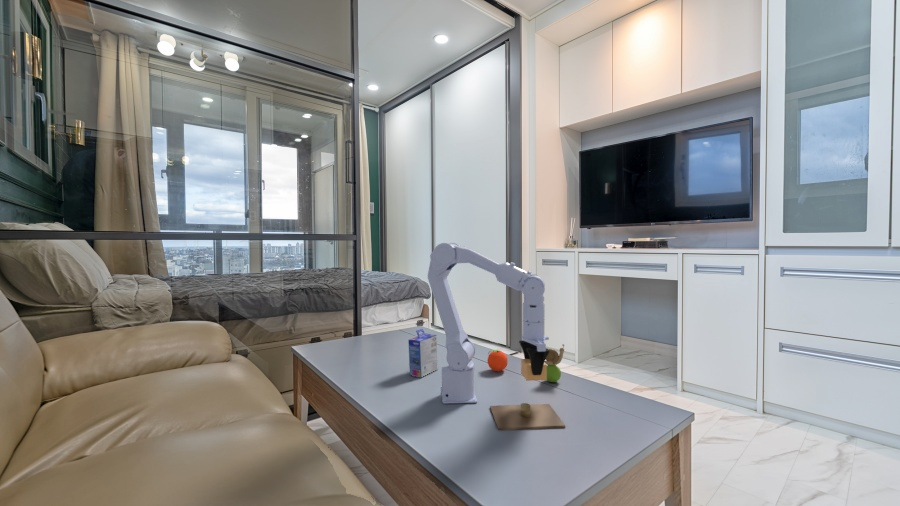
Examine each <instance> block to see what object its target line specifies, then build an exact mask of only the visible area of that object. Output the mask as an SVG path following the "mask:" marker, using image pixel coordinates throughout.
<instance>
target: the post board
mask: <svg viewBox="0 0 900 506" xmlns="http://www.w3.org/2000/svg"><path fill="white" fill-rule="evenodd" d="M489 407H490V408H489V409H490V410H491V414H492V416H493V420H494V422H495V424H496V427H497V430H498V431H509V430H533V429H534V430H536V429H562V428H566V423H564V422H563V421H562V419H561V418H560V417H559V415H558V414H557V412H556V411H555V410H554V408H553V407H552V406H551V404H550V403H538V404H529V403H528V402H527V403H526V402H525V403H524V402H523V403H520V404H512V405H511V404H510V405H509V404H507V405H506V404H505V405H502V404H501V405H490V406H489Z"/></svg>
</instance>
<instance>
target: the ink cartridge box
mask: <svg viewBox="0 0 900 506" xmlns="http://www.w3.org/2000/svg"><path fill="white" fill-rule="evenodd" d="M415 332H416V335H417V336H415V337H412V338H410V339H408V359H409V360H408V361H409V363H408V365H409V375H410V376H411V375H412V376H413V377H415V376H416V378H419V377H422V378H424V377H426V376H428V375H429V373H430V374H432V373H434V372H435V370H436V371H438V368H439V365H438V361H439V360H438V339H437V338H438V337H437V334H433V333H432V334H431V333H425V331H424V329H423V328H420V329H418V330H417V329H416V331H415ZM420 332H422V333H420ZM433 371H434V372H433ZM431 372H432V373H431ZM427 374H428V375H427ZM425 375H426V376H425ZM423 376H424V377H423Z"/></svg>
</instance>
